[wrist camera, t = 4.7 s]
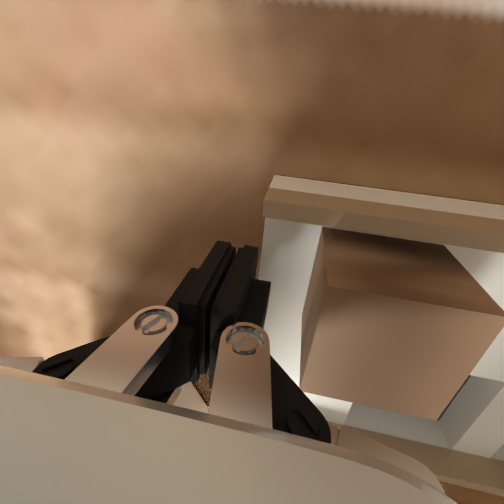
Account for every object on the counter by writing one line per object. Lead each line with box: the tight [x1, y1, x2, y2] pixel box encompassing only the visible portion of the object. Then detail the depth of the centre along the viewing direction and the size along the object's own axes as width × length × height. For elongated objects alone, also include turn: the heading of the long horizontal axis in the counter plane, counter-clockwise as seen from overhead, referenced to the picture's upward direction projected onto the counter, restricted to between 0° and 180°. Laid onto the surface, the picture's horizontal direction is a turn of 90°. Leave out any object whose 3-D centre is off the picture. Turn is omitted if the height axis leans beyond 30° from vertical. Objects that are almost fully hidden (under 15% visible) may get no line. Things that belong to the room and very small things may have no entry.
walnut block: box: [299, 227, 504, 421], centre depth 10 cm, size 4×4×4 cm
